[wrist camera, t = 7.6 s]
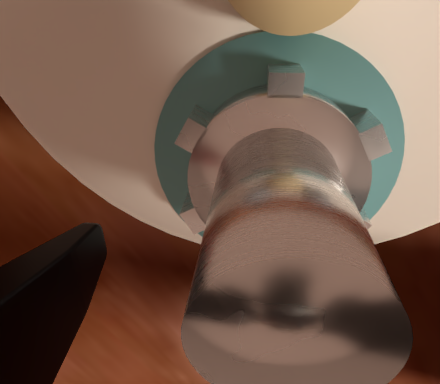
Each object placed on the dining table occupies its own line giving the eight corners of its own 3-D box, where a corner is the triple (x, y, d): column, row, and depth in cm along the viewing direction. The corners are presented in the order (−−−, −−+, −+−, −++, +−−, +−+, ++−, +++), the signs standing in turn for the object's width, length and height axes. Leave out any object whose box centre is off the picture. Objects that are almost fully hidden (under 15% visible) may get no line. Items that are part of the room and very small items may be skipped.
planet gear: (393, 65, 10) (617, 176, 4) (349, 248, 14) (428, 463, 7) (179, 61, 11) (64, 153, 4) (189, 238, 15) (133, 429, 8)
